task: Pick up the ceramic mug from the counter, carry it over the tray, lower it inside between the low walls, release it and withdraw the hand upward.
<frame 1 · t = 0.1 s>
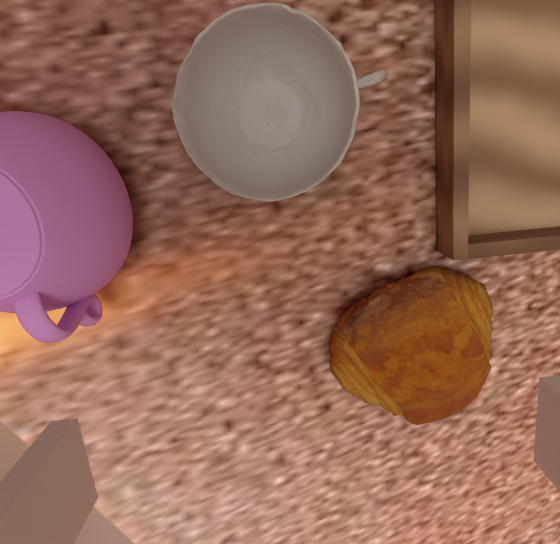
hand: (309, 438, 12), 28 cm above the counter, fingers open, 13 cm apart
tray: (546, 83, 36), on the counter
teacup: (282, 113, 37), on the counter
croissant: (406, 338, 42), on the counter
teapot: (54, 198, 38), on the counter
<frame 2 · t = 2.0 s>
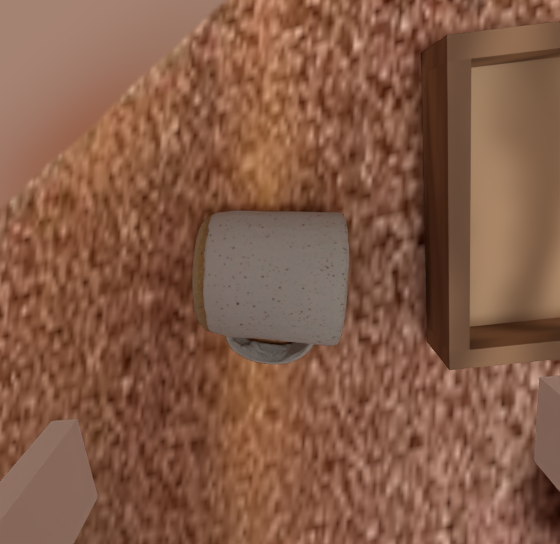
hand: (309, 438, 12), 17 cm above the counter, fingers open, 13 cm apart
ceramic mug: (277, 279, 29), on the counter
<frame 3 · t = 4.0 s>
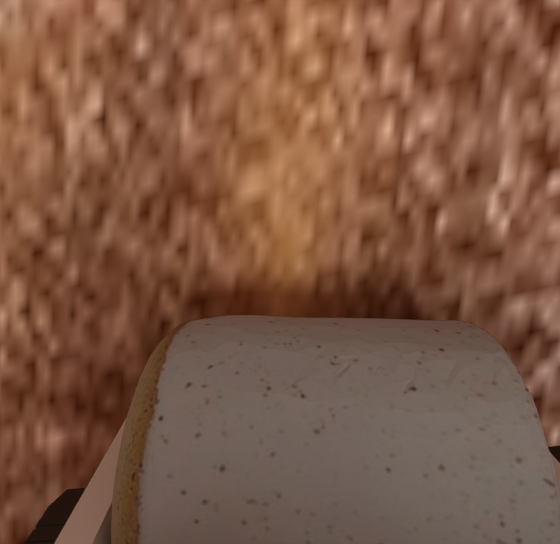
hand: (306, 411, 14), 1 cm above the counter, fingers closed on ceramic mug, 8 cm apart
ceramic mug: (312, 418, 15), on the counter, touching gripper
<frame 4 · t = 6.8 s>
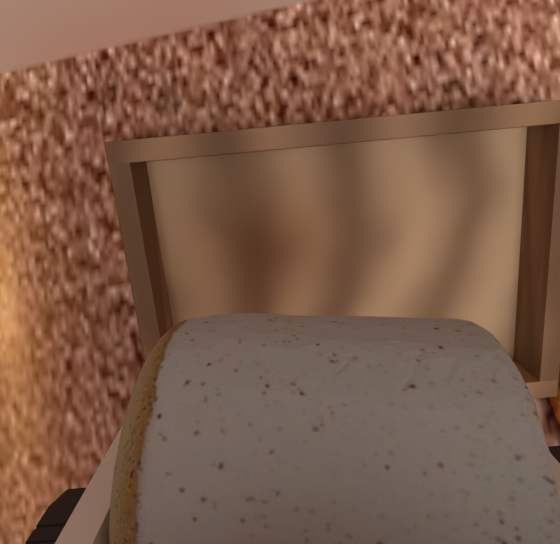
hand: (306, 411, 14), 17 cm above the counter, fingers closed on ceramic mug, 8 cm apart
tray: (340, 264, 30), on the counter
ceramic mug: (312, 417, 15), point 16 cm above the counter, touching gripper
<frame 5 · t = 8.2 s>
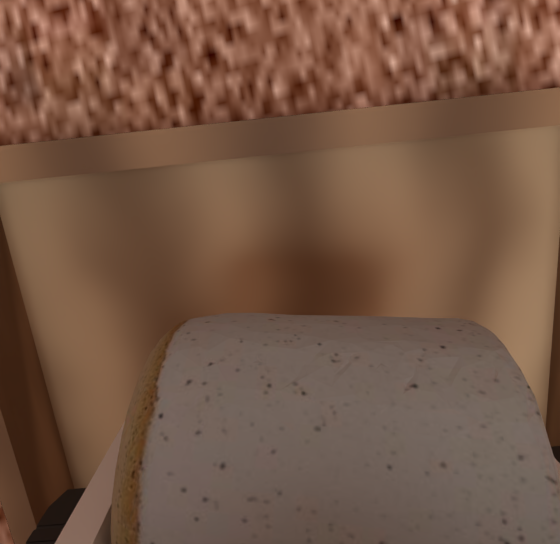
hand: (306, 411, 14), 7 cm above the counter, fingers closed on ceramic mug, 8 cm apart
tray: (293, 325, 21), on the counter
ceramic mug: (313, 417, 15), point 6 cm above the counter, touching gripper
when the fingers open (3 cm above the counter, at t = 9.6 s): ceramic mug stays where it is, resting on tray.
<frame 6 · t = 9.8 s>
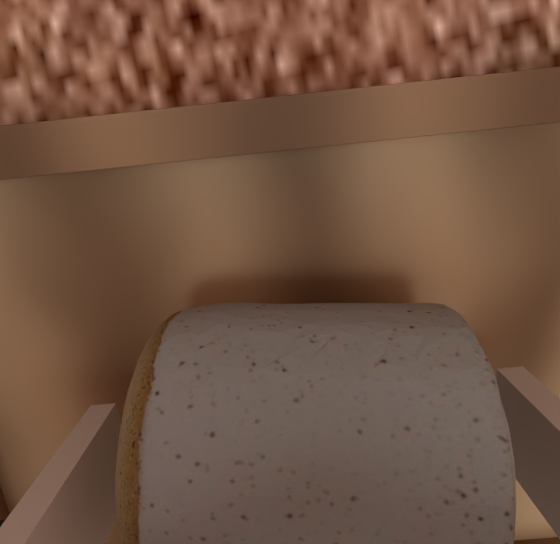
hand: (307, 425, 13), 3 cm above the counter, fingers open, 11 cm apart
tray: (302, 370, 16), on the counter
ceramic mug: (304, 402, 16), point 1 cm above the counter, touching tray
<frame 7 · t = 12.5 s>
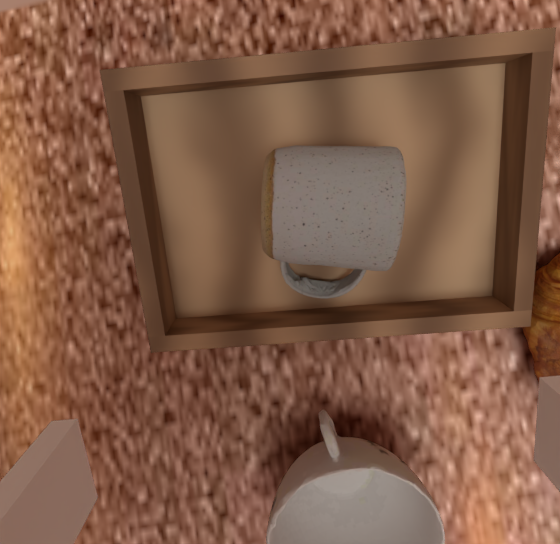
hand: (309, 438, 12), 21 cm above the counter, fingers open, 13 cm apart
tray: (325, 200, 31), on the counter
teacup: (338, 452, 38), on the counter
ceramic mug: (327, 219, 31), point 1 cm above the counter, touching tray
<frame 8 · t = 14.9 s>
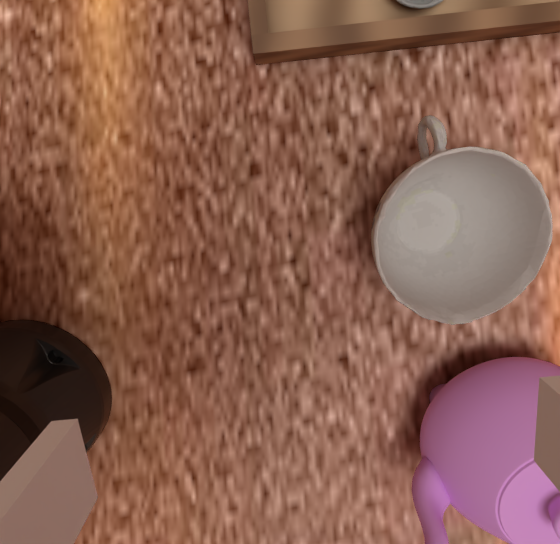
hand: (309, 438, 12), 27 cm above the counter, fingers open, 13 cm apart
teacup: (423, 208, 37), on the counter
teapot: (475, 413, 43), on the counter
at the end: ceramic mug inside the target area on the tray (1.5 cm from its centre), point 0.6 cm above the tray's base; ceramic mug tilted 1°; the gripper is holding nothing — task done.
